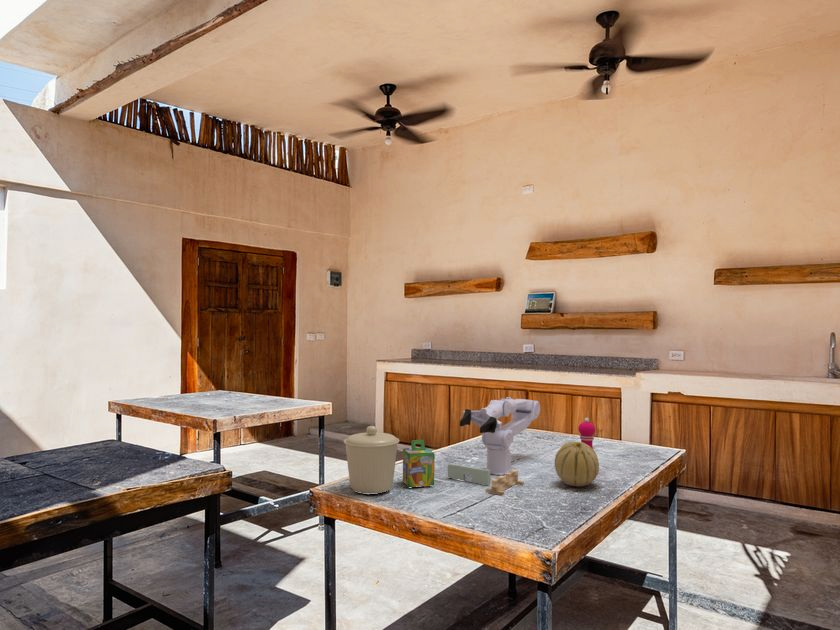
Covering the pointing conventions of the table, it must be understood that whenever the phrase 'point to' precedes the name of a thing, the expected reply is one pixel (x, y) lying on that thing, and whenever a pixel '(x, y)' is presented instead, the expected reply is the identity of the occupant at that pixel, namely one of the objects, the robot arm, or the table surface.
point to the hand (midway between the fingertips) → (470, 426)
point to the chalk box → (418, 465)
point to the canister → (371, 460)
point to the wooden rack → (504, 482)
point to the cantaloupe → (576, 464)
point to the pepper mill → (587, 432)
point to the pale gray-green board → (469, 473)
